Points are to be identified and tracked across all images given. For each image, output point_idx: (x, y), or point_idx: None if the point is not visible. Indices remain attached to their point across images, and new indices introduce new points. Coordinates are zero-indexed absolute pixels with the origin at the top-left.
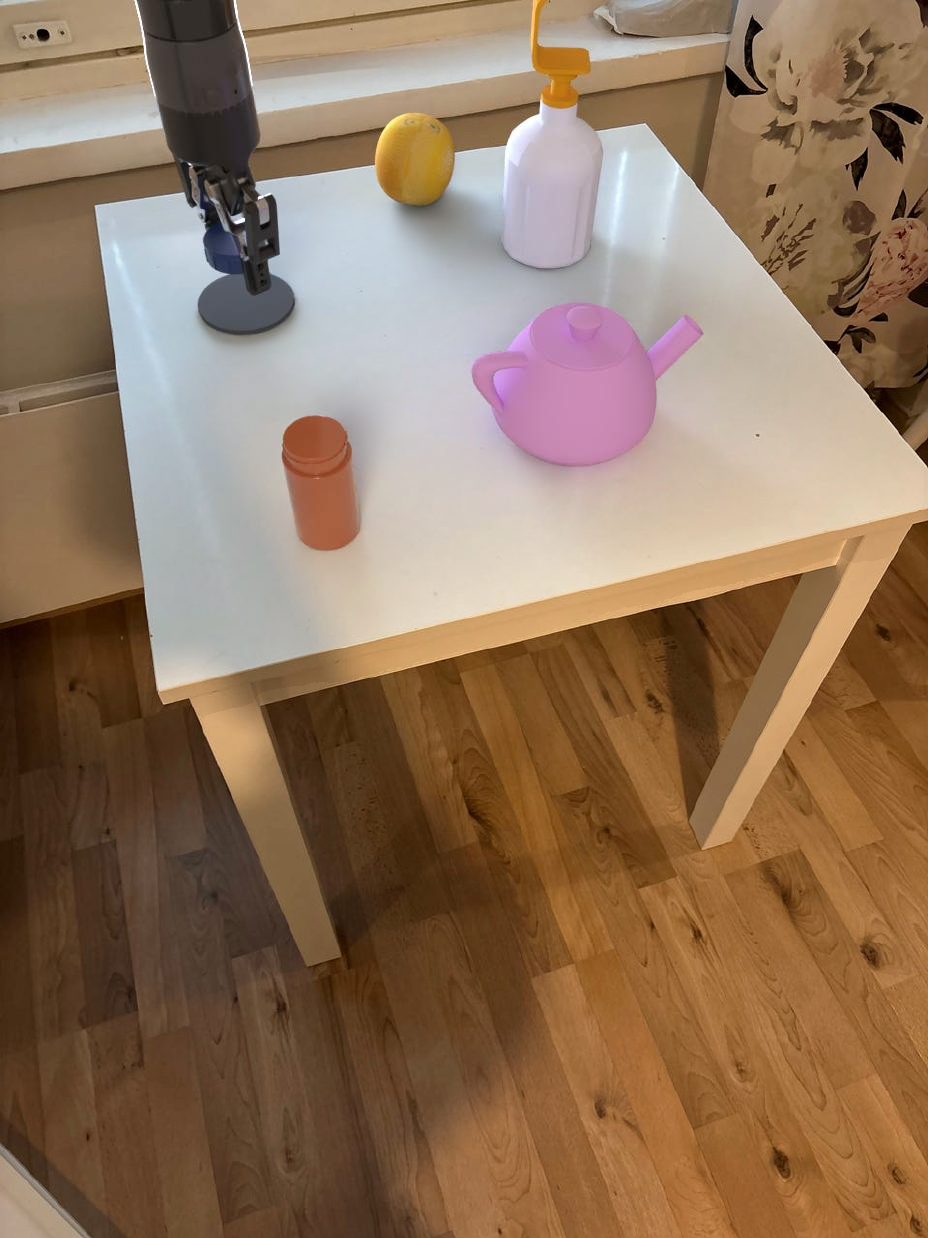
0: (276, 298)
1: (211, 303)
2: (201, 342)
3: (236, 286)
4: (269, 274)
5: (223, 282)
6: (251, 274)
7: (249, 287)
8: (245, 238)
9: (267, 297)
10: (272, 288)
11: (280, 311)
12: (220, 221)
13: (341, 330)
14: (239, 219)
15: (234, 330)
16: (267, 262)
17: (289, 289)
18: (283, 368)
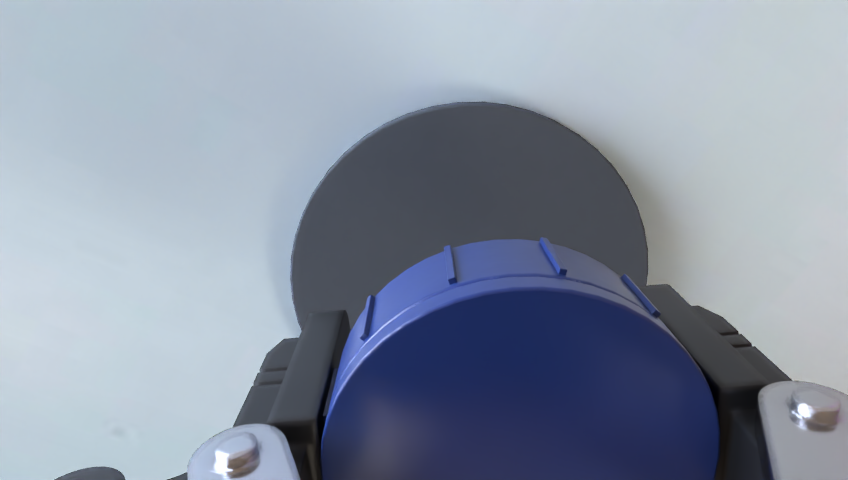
0: (529, 189)
1: None
2: None
3: (376, 281)
4: (692, 309)
5: (329, 310)
6: None
7: None
8: (575, 429)
9: (502, 215)
10: (462, 173)
11: (608, 212)
12: (310, 467)
13: (824, 47)
14: (363, 381)
15: None
16: (729, 345)
17: (509, 118)
18: (831, 318)
